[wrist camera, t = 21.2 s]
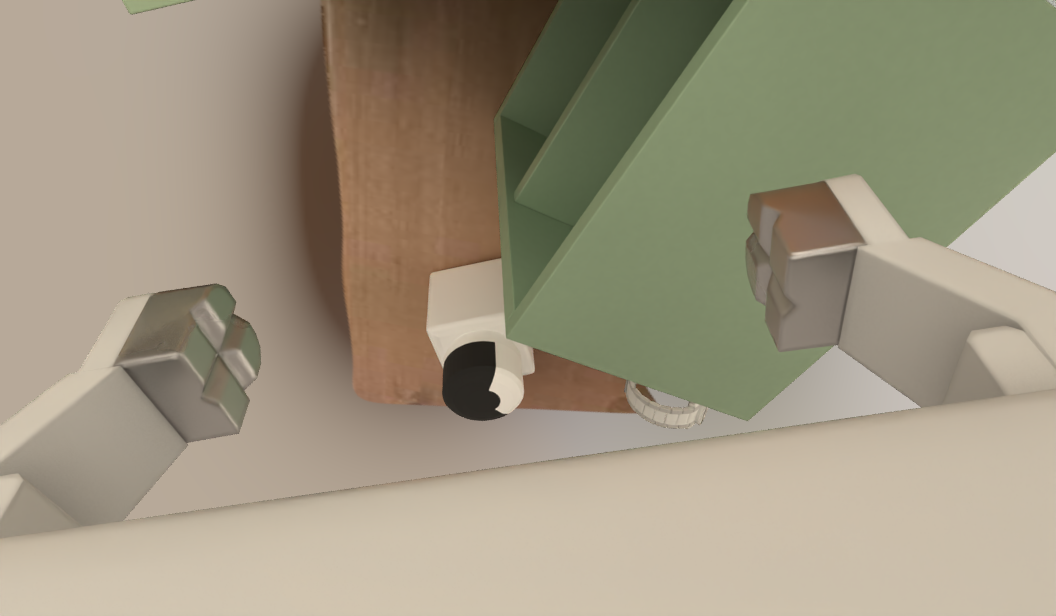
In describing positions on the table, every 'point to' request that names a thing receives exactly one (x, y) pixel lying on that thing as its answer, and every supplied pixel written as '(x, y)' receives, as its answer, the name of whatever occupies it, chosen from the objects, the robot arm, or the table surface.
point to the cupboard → (742, 162)
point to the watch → (663, 410)
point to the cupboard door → (149, 4)
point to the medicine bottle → (476, 342)
